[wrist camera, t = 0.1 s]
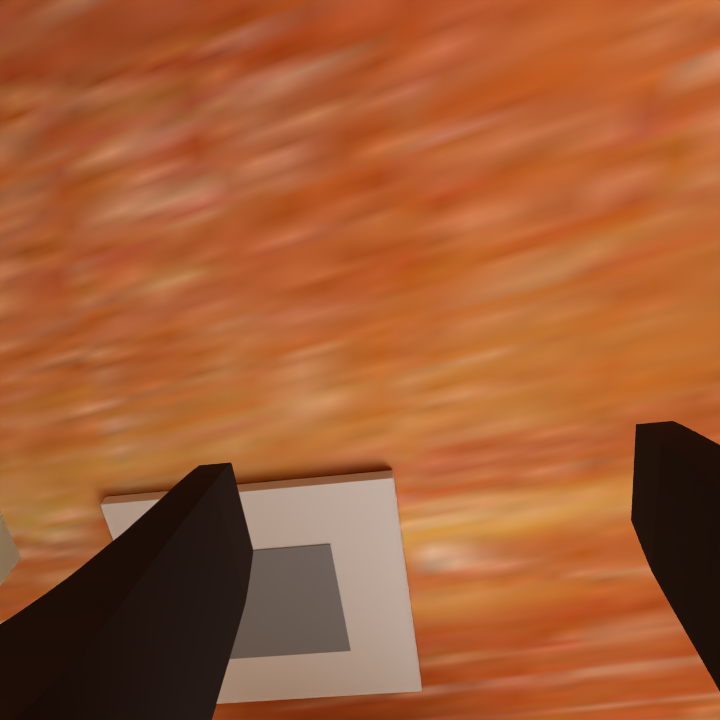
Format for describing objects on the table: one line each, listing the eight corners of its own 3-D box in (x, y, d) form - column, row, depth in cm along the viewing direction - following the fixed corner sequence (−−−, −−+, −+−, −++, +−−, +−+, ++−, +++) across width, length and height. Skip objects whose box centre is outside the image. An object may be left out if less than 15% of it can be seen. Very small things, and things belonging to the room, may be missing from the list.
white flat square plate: (421, 681, 28) (421, 692, 27) (177, 696, 29) (173, 707, 28) (392, 470, 23) (393, 478, 23) (105, 496, 24) (99, 505, 24)
